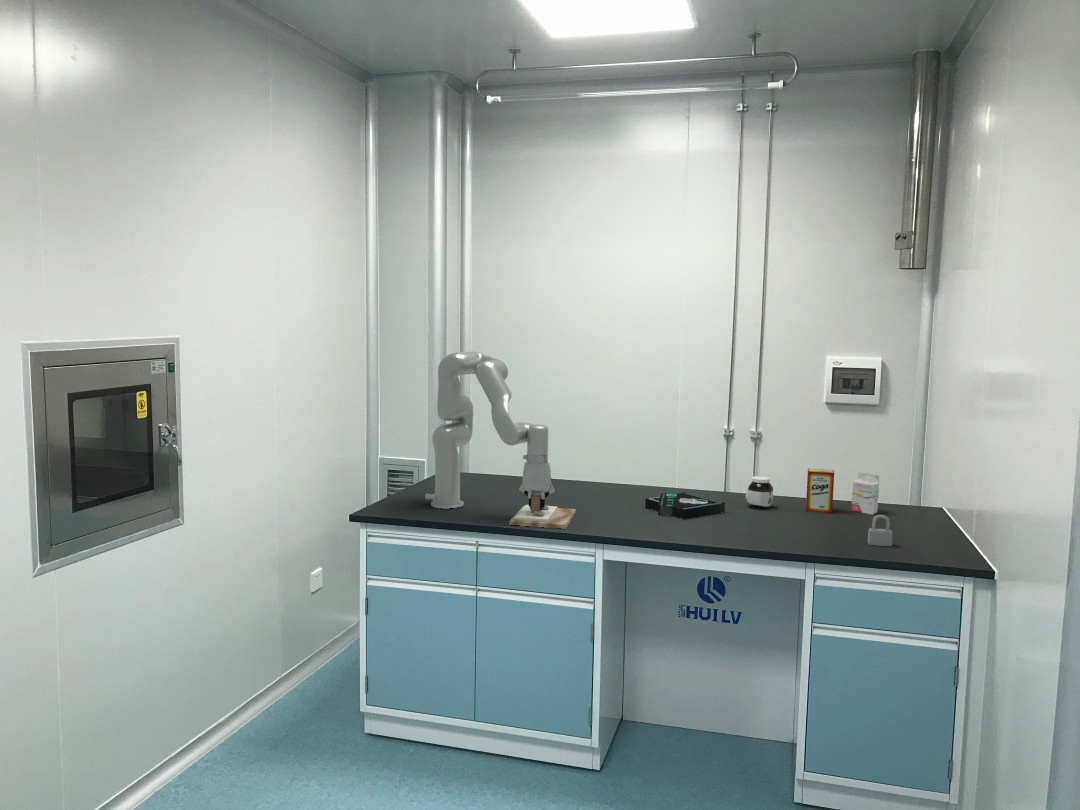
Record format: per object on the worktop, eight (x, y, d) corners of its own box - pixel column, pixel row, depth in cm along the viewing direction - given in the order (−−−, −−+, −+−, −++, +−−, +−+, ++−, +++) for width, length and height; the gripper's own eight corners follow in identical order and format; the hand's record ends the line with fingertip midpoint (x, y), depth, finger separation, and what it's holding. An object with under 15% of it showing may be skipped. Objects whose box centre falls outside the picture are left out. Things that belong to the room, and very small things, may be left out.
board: (509, 525, 291) (509, 515, 290) (523, 509, 314) (523, 500, 314) (565, 529, 287) (565, 518, 287) (575, 512, 311) (575, 503, 310)
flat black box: (642, 517, 306) (725, 523, 300) (642, 507, 306) (725, 512, 300) (647, 500, 335) (723, 504, 330) (648, 490, 335) (723, 494, 329)
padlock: (869, 545, 272) (870, 515, 271) (867, 542, 276) (869, 512, 275) (892, 547, 270) (894, 517, 269) (890, 544, 274) (892, 514, 273)
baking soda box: (806, 511, 318) (808, 470, 317) (805, 507, 325) (807, 467, 323) (832, 513, 316) (834, 472, 314) (831, 509, 322) (833, 468, 320)
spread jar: (760, 510, 318) (762, 481, 317) (736, 505, 327) (737, 476, 325) (778, 506, 326) (779, 477, 325) (753, 501, 334) (755, 472, 333)
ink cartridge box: (850, 510, 320) (852, 473, 318) (855, 508, 324) (857, 471, 322) (872, 514, 314) (875, 476, 313) (877, 512, 318) (880, 474, 316)
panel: (514, 520, 292) (514, 500, 292) (526, 507, 312) (526, 489, 311) (547, 522, 290) (548, 502, 289) (557, 509, 310) (557, 490, 309)
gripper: (513, 459, 297) (512, 510, 299) (558, 462, 294) (557, 512, 296) (517, 456, 304) (516, 505, 306) (561, 458, 301) (560, 508, 303)
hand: (536, 508), depth 301 cm, fingers closed on panel, 3 cm apart
